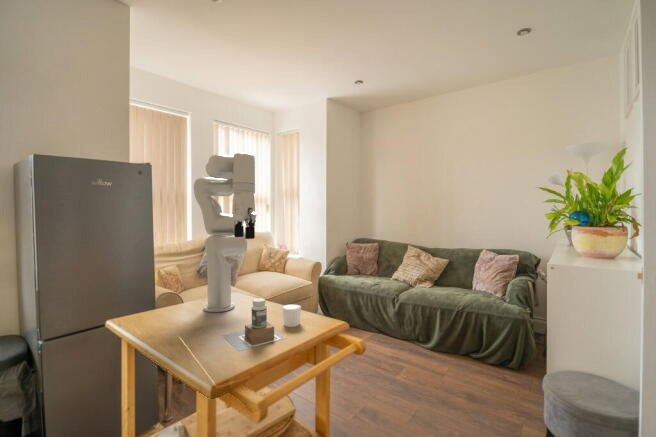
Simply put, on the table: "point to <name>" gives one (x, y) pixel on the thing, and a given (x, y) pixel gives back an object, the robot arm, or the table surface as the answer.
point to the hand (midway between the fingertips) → (244, 237)
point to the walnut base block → (259, 333)
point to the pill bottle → (259, 313)
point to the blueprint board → (243, 343)
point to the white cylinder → (291, 315)
